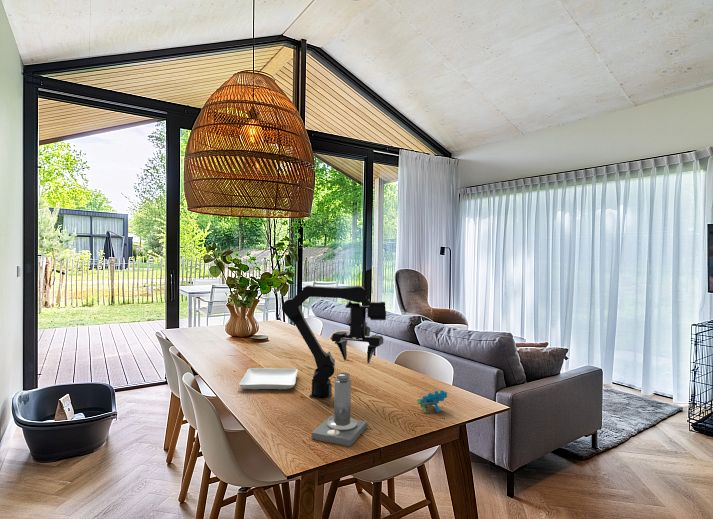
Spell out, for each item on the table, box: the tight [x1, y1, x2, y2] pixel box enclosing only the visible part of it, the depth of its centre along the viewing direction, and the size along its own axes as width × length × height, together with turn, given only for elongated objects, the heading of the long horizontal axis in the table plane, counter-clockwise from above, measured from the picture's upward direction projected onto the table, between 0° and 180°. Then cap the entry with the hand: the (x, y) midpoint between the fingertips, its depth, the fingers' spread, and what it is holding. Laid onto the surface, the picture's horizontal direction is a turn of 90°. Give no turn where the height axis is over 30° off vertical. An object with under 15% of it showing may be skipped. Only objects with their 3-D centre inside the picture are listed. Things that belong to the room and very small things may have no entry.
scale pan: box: [327, 417, 357, 431], centre depth 130 cm, size 9×9×1 cm
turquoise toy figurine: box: [416, 390, 448, 414], centre depth 149 cm, size 11×6×10 cm
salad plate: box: [238, 367, 299, 390], centre depth 174 cm, size 21×21×3 cm
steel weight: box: [333, 372, 352, 426], centre depth 130 cm, size 5×5×14 cm
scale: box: [310, 414, 368, 447], centre depth 129 cm, size 12×14×2 cm
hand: (356, 361), depth 161 cm, fingers open, 9 cm apart
